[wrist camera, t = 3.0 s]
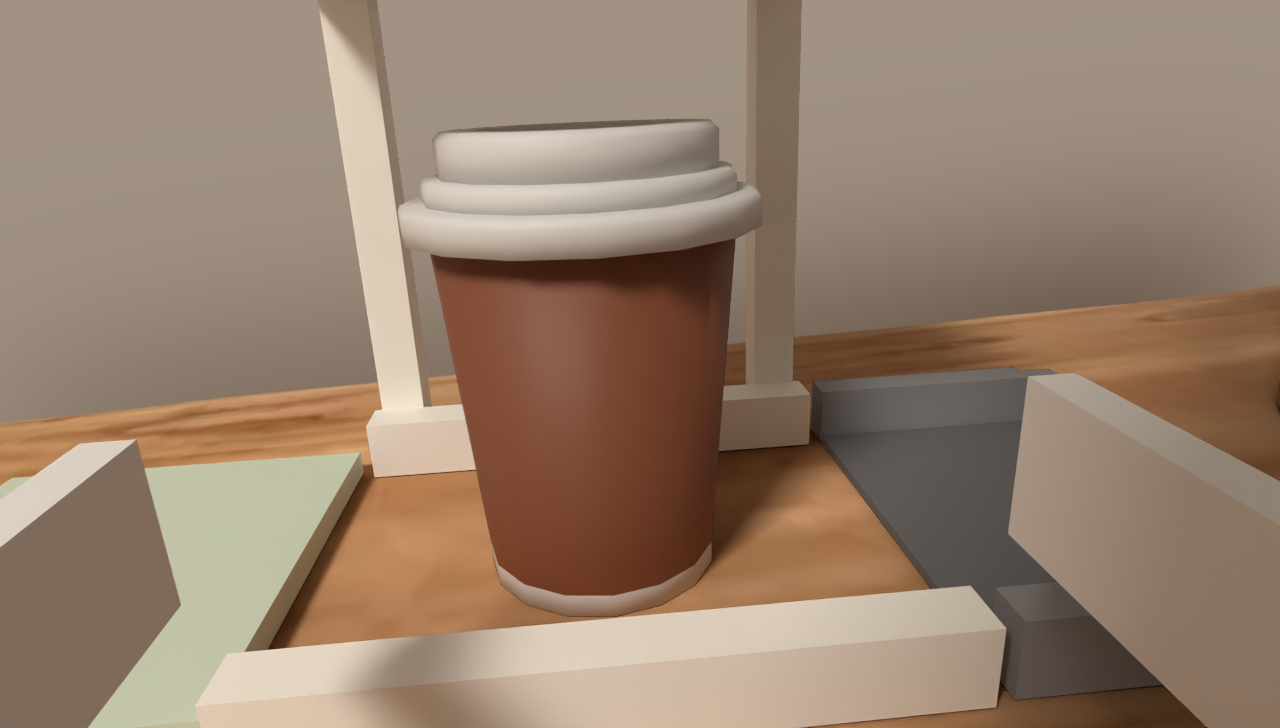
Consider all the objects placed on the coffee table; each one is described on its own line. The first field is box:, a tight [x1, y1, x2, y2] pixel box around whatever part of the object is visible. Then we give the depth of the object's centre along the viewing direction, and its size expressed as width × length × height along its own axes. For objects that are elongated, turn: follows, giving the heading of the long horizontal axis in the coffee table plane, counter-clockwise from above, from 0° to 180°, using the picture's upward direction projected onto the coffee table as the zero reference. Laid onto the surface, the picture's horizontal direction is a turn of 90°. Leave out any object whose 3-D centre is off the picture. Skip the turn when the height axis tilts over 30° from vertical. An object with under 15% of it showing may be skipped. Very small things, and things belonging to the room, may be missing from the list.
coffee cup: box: [398, 119, 762, 617], centre depth 21 cm, size 9×9×12 cm
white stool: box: [195, 0, 1006, 728], centre depth 21 cm, size 16×16×18 cm
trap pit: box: [811, 367, 1163, 700], centre depth 24 cm, size 9×15×2 cm, turn 5°
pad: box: [0, 452, 364, 728], centre depth 22 cm, size 12×13×1 cm
